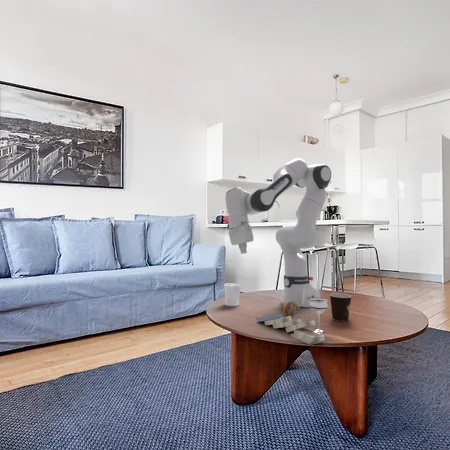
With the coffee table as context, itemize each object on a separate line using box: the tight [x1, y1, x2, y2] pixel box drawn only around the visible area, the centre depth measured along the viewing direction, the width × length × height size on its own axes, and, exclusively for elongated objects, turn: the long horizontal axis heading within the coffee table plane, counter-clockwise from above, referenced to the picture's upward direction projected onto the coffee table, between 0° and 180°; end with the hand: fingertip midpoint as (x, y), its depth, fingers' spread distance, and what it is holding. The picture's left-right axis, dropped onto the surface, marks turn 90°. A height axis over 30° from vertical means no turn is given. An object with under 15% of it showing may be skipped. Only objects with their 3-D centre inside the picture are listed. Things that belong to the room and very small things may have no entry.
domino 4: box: [285, 319, 316, 333], centre depth 126 cm, size 5×2×10 cm
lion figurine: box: [278, 301, 301, 319], centre depth 145 cm, size 15×5×9 cm, turn 19°
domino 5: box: [293, 328, 326, 343], centre depth 121 cm, size 5×2×10 cm
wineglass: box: [309, 297, 329, 332], centre depth 130 cm, size 7×7×12 cm
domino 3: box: [272, 318, 303, 329], centre depth 131 cm, size 5×2×10 cm
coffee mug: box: [329, 293, 352, 321], centre depth 148 cm, size 12×9×10 cm
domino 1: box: [256, 312, 284, 323], centre depth 139 cm, size 5×2×10 cm
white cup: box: [223, 282, 241, 307], centre depth 171 cm, size 8×8×10 cm
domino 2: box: [264, 316, 293, 326], centre depth 135 cm, size 5×2×10 cm
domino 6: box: [290, 332, 323, 346], centre depth 121 cm, size 5×2×10 cm
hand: (243, 253), depth 156 cm, fingers closed
